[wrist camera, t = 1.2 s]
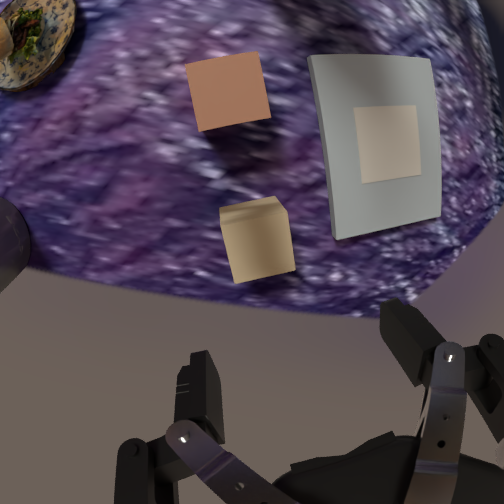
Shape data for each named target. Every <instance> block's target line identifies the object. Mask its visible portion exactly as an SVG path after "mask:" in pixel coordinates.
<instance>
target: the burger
mask: <svg viewBox="0 0 504 504" xmlns="http://www.w3.org/2000/svg"><path fill="white" fill-rule="evenodd" d="M75 17H76V3H75V0H13V1H12V2H11V3H9V4H8V5H7V6H6V7H5V8H4V9H3V11H2V13H1V14H0V89H1V90H7V91H12V92H20V91H26V90H29V89H31V88H34V87H33V86H35V87H36V86H37V85H38V83H39V82H40V81H41V80H42V78H44V77H45V76H46V75H49V73H51V72H53V73H54V72H55V71H56V69H57V68H59V67H60V65H62V63H63V62H64V61H65V60H64V59H65V55H64V51H65V48H66V47H67V45H68V43H69V41H70V39H71V37H72V35H73V32H74V22H75ZM42 81H43V80H42Z"/></svg>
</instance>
